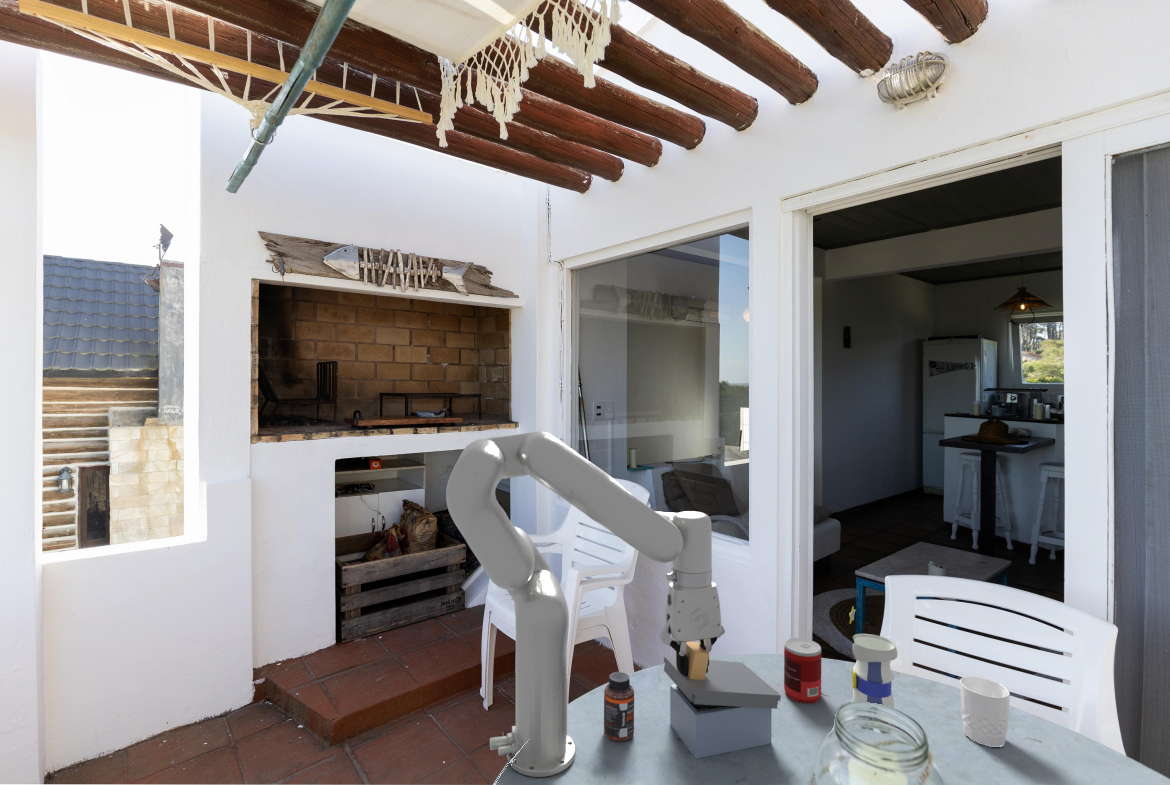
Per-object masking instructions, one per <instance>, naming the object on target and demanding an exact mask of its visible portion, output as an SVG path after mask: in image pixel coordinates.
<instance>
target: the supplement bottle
mask: <svg viewBox="0 0 1170 785" xmlns="http://www.w3.org/2000/svg"><path fill="white" fill-rule="evenodd" d="M603 731H604V735H605V737H606V738H607V739H610V740H611V741H614V742H626V741H628V740H630V739H632V738H633V736H634V733H635V689H634V687H633V686H632V685H631V684H630V675H629V674H627V673H626V672H623V671H615V672H612V673H611V674H609V678H608V684H606V685H605V687H604V692H603Z"/></svg>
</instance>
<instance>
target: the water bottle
mask: <svg viewBox="0 0 1170 785" xmlns="http://www.w3.org/2000/svg"><path fill="white" fill-rule="evenodd" d="M854 607H855V606H852V607H851V611H850V612H849V624H852V621H854V620H855V613H856V611H857V610H856V609H854ZM852 639H853V642H854V643H852V654H853V656H854V659H855V660H856V662H855V663H854V666H853V667H852V668H853V669H852V671H851V673H852V674H851V679H852V684H851V685H852V689H853V691H852V703H853V702H870V703H877V704H882V705H885V706H889V707H892V708H894V709H895V698H894V695H893V693H892V681H893V680H894V679H895V675H894V673H893V672H892V669H891V661H894V660H896V659H897V657H898V650H897V646H896V644H895V642H894V641H892V640H890V639H889V638H887V637H884V636H880V635H877V634H869V633H858V634H857V633H855V634H854V635H853V636H852Z"/></svg>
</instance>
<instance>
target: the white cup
mask: <svg viewBox="0 0 1170 785" xmlns="http://www.w3.org/2000/svg"><path fill="white" fill-rule="evenodd" d="M959 682H960V683H959V686H960V688H959V690H960V707H961V718H962V732H963V733H964V735H966V736H965V737H967V736H968V737H969V738H970V739H972V740H974V741H977V742H979V743H982V744H986V745H990V746H1000V745H1004V744H1005V745H1006V743H1005V742H1007V731H1008V722H1009V711H1010V695H1011V694H1010V693H1011V692H1010V690H1009V689H1008V688H1007V687H1005V686H1004V685H1002V684H1000V683H999V682H997V681H994V680H991V679H988V678H985V677H980V676H974V675H973V676H971V675H970V676H963V677H961V678H960V679H959ZM968 737H967V738H968ZM969 738H968V739H969ZM970 739H969V740H970ZM972 740H971V741H972ZM974 741H973V742H974ZM1005 745H1004V746H1005Z"/></svg>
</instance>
